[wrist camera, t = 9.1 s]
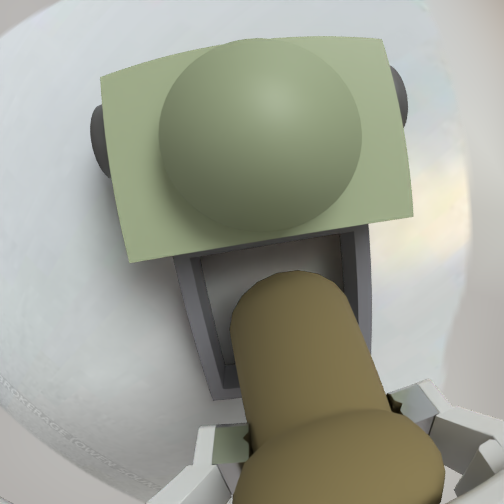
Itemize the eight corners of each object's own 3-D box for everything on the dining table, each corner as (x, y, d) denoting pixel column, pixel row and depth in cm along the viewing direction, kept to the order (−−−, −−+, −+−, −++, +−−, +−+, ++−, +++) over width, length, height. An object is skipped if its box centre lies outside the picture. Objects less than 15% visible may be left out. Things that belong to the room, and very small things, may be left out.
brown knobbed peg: (250, 390, 15) (256, 587, 4) (212, 291, 14) (151, 532, 3) (358, 358, 15) (451, 531, 4) (340, 253, 13) (519, 423, 3)
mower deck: (181, 379, 19) (164, 446, 13) (118, 108, 14) (62, 80, 8) (388, 342, 19) (430, 396, 13) (364, 71, 14) (416, 32, 8)
